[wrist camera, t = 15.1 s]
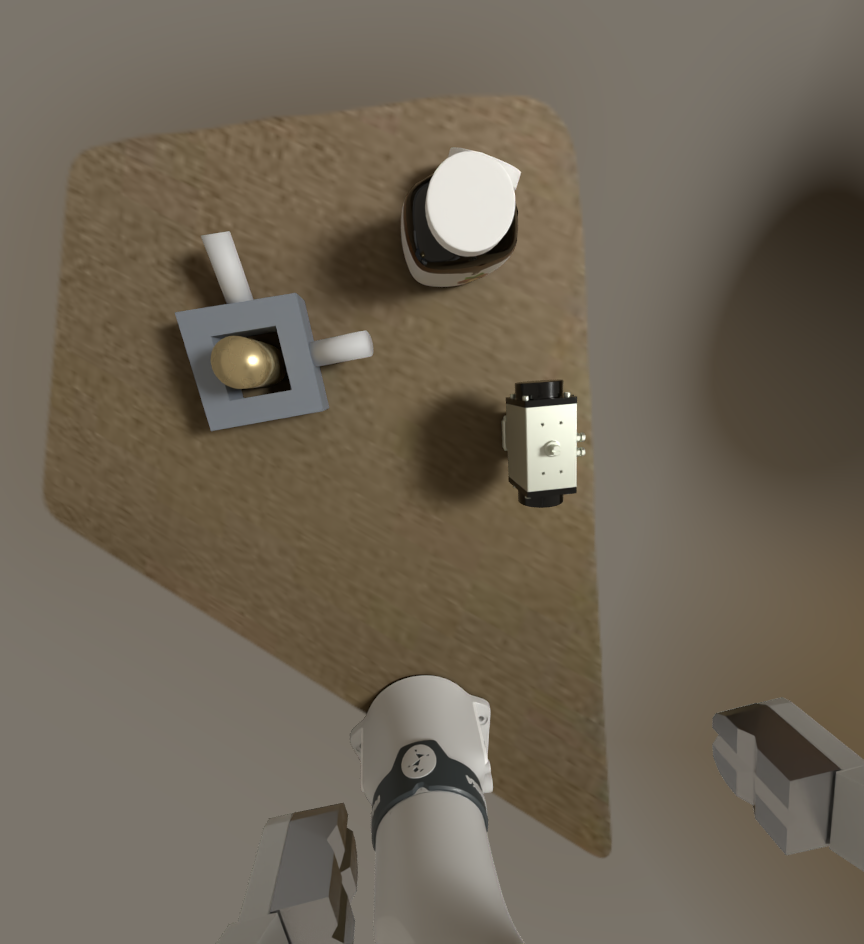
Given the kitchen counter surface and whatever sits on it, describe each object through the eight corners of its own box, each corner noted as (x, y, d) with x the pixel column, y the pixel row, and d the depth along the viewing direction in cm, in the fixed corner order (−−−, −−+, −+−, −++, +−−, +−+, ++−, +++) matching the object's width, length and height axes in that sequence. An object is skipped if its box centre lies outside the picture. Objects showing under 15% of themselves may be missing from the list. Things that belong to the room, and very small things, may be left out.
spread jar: (408, 296, 43) (416, 269, 32) (385, 174, 40) (384, 96, 29) (519, 276, 44) (565, 242, 32) (504, 154, 41) (549, 70, 30)
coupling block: (384, 397, 45) (383, 401, 39) (226, 426, 44) (203, 433, 38) (350, 226, 41) (344, 203, 35) (175, 253, 40) (141, 233, 34)
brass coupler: (291, 382, 44) (270, 384, 36) (249, 389, 43) (219, 392, 36) (280, 339, 43) (256, 331, 35) (237, 346, 42) (203, 340, 35)
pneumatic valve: (497, 483, 49) (532, 517, 37) (493, 382, 46) (529, 384, 34) (543, 478, 49) (591, 510, 37) (541, 378, 46) (593, 378, 35)
